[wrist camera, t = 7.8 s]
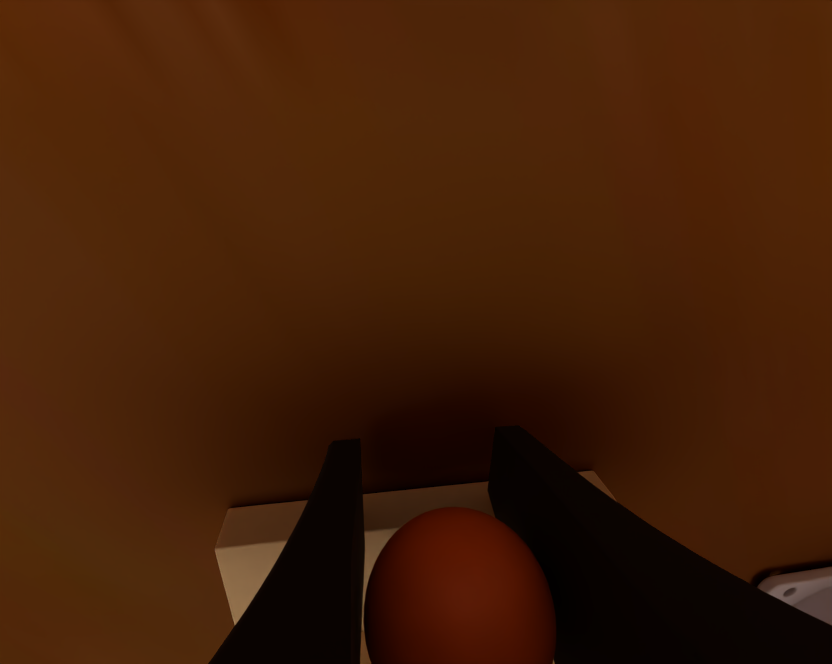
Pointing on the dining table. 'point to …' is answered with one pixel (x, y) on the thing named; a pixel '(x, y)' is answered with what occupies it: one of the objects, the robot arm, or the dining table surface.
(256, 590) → the switch bracket
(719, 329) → the dining table surface
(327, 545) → the robot arm
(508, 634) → the switch
